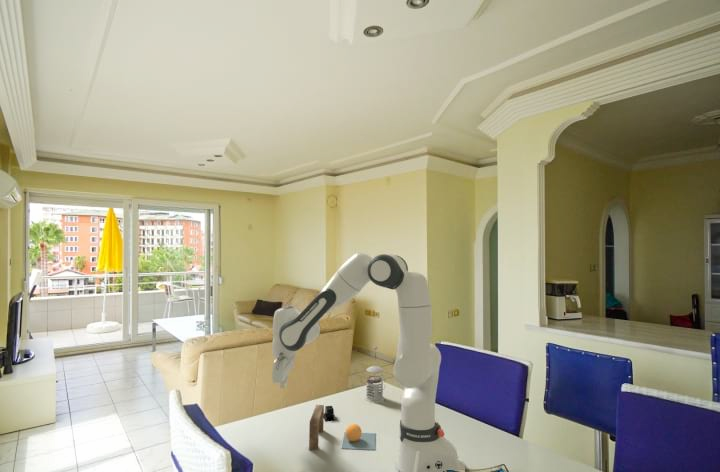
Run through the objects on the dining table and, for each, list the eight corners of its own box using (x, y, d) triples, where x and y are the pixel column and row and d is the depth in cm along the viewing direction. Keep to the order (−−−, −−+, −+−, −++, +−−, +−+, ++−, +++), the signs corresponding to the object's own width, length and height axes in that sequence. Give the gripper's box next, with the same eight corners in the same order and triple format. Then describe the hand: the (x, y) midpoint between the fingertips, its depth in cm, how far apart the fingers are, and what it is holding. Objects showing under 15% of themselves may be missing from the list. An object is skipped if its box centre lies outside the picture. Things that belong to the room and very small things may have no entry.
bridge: (323, 430, 150) (323, 405, 150) (317, 450, 135) (317, 422, 135) (315, 429, 150) (316, 404, 150) (309, 449, 135) (309, 422, 135)
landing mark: (375, 433, 147) (375, 433, 147) (375, 450, 135) (375, 449, 135) (344, 432, 148) (344, 432, 148) (341, 448, 136) (341, 448, 136)
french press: (375, 393, 189) (376, 342, 190) (391, 400, 180) (392, 347, 181) (360, 397, 183) (360, 345, 184) (375, 405, 174) (376, 350, 175)
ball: (349, 418, 145) (343, 432, 145) (348, 425, 139) (342, 440, 139) (364, 424, 145) (358, 439, 145) (363, 432, 139) (357, 447, 139)
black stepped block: (340, 424, 157) (340, 412, 157) (323, 426, 155) (323, 414, 155) (334, 411, 169) (334, 401, 169) (318, 413, 167) (318, 402, 167)
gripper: (285, 357, 134) (284, 397, 133) (297, 343, 154) (297, 377, 154) (268, 357, 134) (267, 397, 133) (282, 342, 154) (281, 377, 154)
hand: (283, 386), depth 144 cm, fingers closed
